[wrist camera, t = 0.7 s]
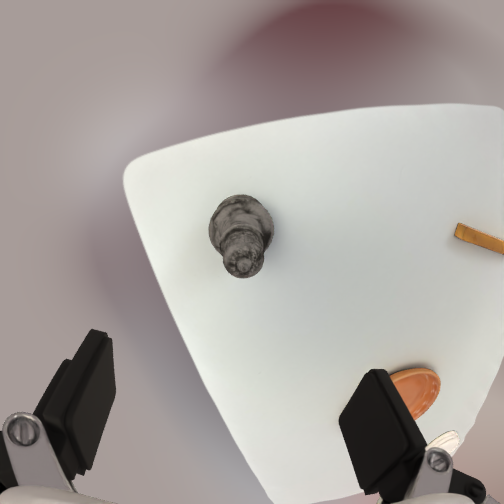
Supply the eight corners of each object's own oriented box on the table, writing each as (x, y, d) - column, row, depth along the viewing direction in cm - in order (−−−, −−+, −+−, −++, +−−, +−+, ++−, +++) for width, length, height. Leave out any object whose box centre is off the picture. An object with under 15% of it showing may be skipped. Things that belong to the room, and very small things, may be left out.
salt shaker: (206, 196, 30) (189, 234, 18) (265, 187, 30) (285, 219, 18) (216, 251, 32) (208, 315, 21) (272, 243, 32) (293, 302, 21)
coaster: (455, 425, 52) (460, 434, 48) (455, 437, 55) (461, 446, 52) (420, 446, 53) (425, 457, 50) (424, 457, 56) (429, 466, 53)
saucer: (331, 418, 44) (336, 432, 41) (393, 350, 39) (402, 363, 36) (392, 426, 47) (397, 437, 44) (448, 369, 42) (455, 379, 40)
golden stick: (458, 222, 32) (466, 226, 31) (510, 243, 34) (517, 247, 32) (454, 235, 33) (462, 239, 31) (506, 254, 35) (513, 258, 33)
